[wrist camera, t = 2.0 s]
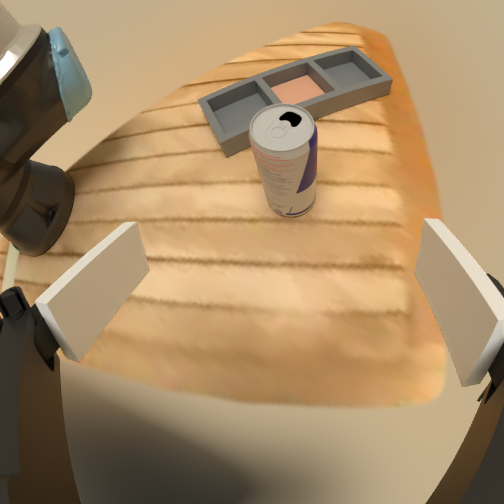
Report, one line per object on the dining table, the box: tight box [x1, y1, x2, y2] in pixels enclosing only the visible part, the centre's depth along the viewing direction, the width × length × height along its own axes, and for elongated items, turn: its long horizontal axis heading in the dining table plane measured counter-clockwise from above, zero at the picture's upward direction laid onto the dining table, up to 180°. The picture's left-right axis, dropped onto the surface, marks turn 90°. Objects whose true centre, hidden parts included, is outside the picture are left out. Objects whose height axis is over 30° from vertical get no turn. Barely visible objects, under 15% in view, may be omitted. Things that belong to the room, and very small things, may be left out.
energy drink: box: [249, 103, 317, 217], centre depth 26 cm, size 5×5×12 cm
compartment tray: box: [198, 46, 393, 157], centre depth 34 cm, size 25×9×3 cm, turn 114°
